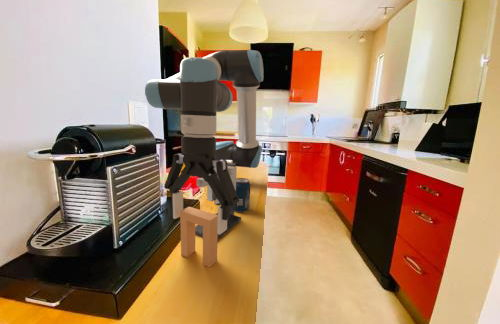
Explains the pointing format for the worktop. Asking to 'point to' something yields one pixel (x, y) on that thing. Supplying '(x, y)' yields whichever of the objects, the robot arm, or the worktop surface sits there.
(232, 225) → the stand
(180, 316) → the worktop surface
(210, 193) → the grey link
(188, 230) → the orange link
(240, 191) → the soda can
